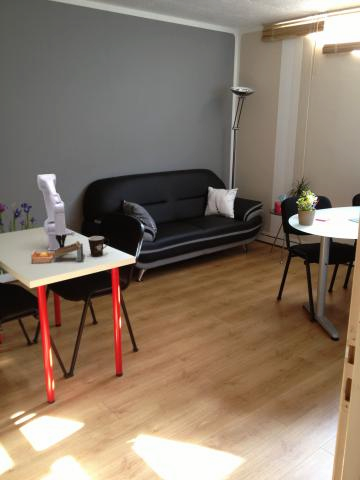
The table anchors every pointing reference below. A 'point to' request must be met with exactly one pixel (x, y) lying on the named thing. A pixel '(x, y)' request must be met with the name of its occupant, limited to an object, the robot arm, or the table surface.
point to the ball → (43, 255)
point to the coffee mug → (96, 245)
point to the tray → (36, 258)
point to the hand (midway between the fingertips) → (62, 248)
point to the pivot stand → (80, 254)
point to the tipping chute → (67, 249)
